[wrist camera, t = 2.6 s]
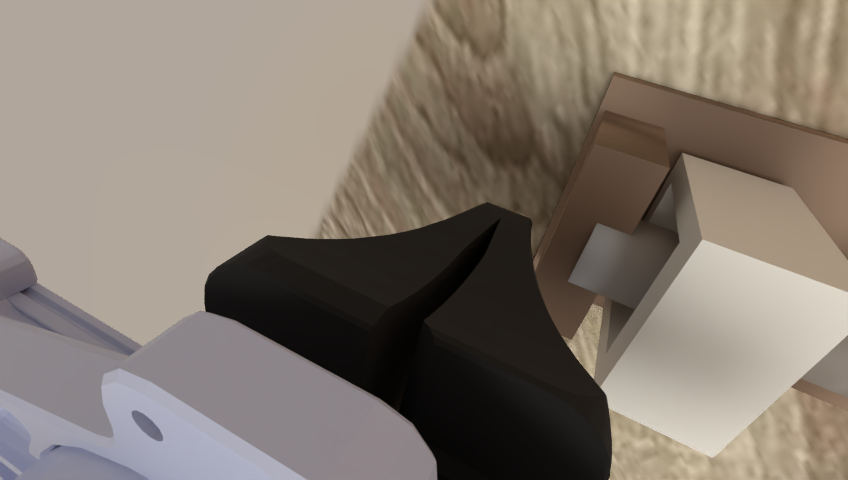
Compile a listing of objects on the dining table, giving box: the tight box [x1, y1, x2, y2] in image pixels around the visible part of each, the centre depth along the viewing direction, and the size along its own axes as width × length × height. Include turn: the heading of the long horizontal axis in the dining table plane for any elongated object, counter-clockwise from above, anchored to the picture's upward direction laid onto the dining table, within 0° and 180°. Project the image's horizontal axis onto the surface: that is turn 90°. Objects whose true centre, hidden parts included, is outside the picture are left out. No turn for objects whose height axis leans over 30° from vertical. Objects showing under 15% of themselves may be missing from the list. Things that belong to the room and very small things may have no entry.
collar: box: [594, 153, 848, 458], centre depth 12 cm, size 3×5×6 cm, turn 168°
